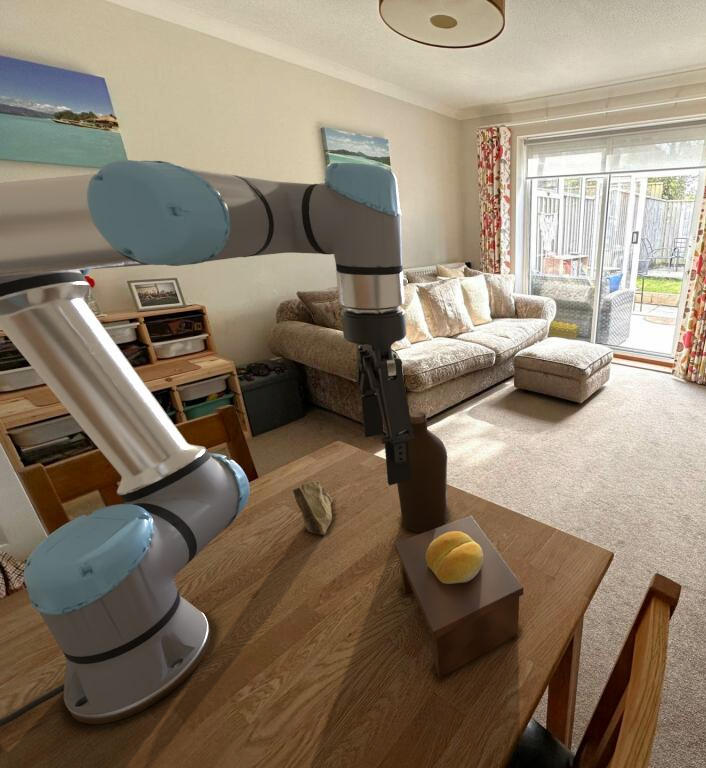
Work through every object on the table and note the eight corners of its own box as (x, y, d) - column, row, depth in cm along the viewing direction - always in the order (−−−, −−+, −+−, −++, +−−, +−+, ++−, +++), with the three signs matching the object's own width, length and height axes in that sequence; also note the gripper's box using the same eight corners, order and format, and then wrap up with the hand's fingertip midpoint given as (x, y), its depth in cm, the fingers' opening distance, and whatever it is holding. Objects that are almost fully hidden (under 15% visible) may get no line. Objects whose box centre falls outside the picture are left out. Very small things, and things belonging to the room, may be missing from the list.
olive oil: (410, 542, 80) (400, 431, 71) (392, 512, 88) (381, 409, 79) (458, 522, 86) (454, 417, 77) (437, 496, 94) (431, 398, 85)
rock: (314, 487, 92) (277, 509, 83) (331, 464, 89) (295, 484, 80) (346, 521, 92) (313, 547, 82) (365, 499, 88) (332, 523, 79)
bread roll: (449, 597, 57) (448, 576, 56) (419, 559, 64) (417, 539, 62) (495, 567, 62) (495, 547, 61) (462, 535, 69) (461, 516, 67)
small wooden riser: (436, 682, 56) (433, 631, 52) (399, 587, 70) (394, 543, 67) (521, 634, 63) (523, 587, 59) (471, 557, 77) (471, 515, 73)
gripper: (439, 328, 41) (442, 497, 49) (379, 289, 61) (388, 415, 69) (363, 335, 38) (380, 516, 46) (325, 291, 57) (342, 424, 65)
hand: (385, 455), depth 57 cm, fingers open, 13 cm apart
